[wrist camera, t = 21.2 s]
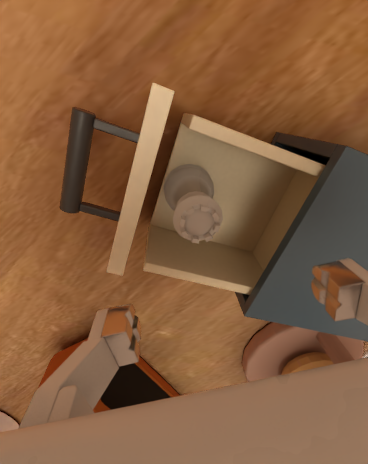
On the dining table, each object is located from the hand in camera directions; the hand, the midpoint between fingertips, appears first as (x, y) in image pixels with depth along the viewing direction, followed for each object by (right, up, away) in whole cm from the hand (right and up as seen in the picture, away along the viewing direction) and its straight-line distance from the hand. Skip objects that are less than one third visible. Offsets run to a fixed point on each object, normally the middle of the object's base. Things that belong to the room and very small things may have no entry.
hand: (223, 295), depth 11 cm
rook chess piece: (-1, +7, +11) cm, 13 cm away
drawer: (-1, +7, +12) cm, 14 cm away
